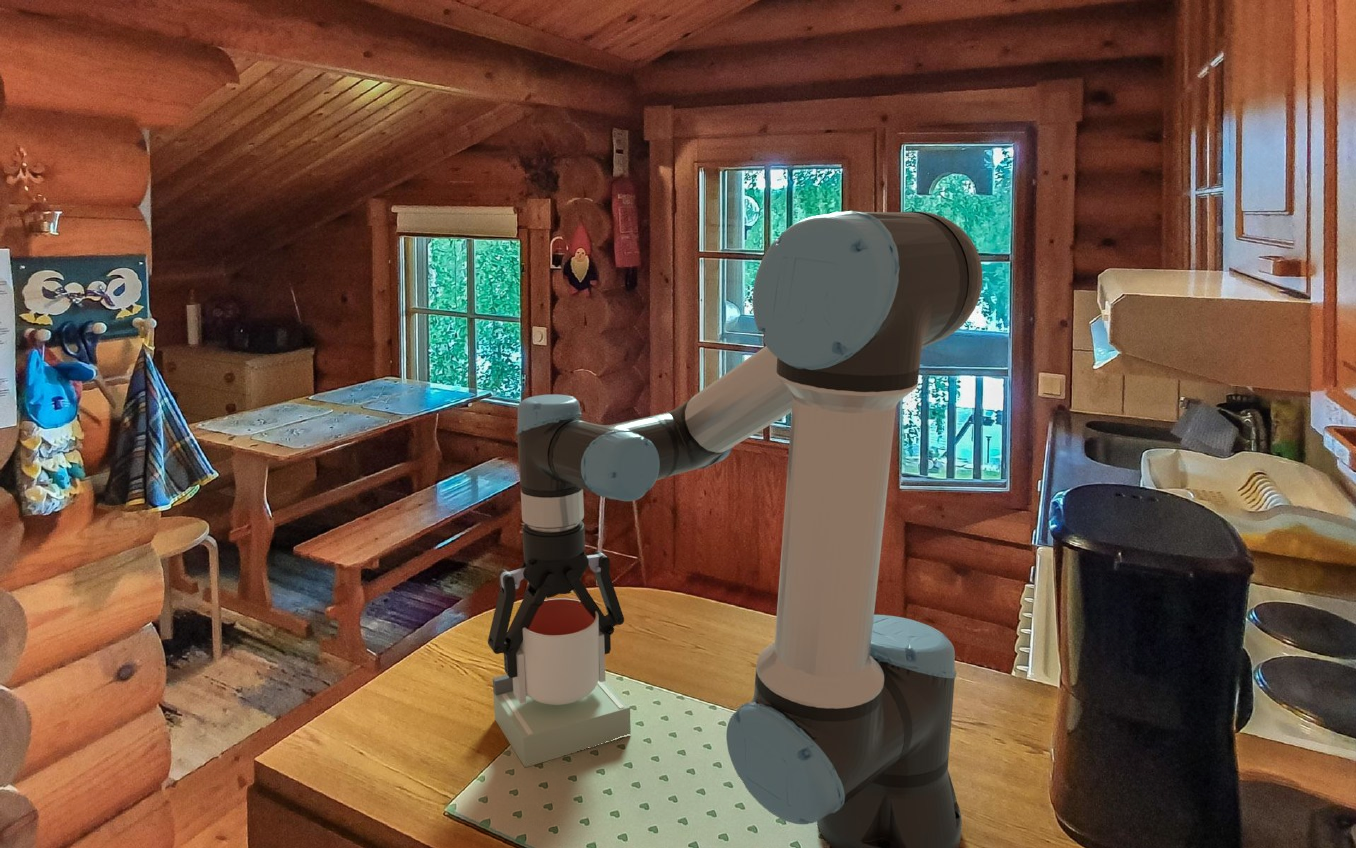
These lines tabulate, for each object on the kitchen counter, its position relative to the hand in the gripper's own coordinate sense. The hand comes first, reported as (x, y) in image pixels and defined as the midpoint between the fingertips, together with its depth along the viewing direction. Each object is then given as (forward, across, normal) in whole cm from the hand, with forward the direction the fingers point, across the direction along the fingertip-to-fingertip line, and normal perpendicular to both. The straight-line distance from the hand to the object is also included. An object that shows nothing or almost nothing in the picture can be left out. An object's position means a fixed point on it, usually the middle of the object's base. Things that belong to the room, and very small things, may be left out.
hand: (560, 687), depth 116 cm
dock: (+6, 0, 0) cm, 6 cm away
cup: (0, 0, 0) cm, 0 cm away
